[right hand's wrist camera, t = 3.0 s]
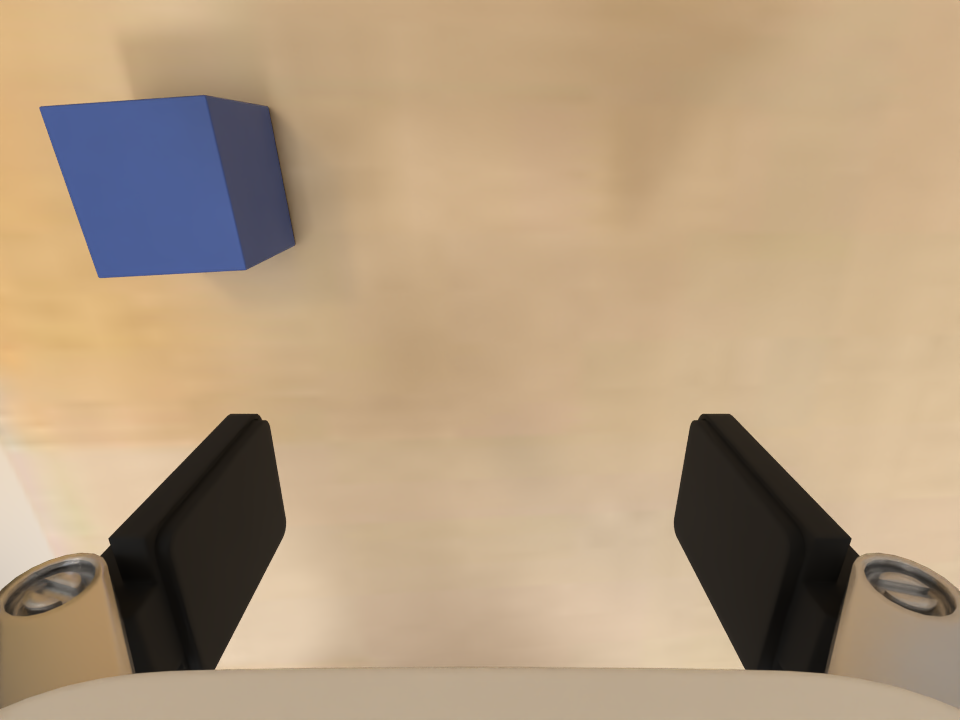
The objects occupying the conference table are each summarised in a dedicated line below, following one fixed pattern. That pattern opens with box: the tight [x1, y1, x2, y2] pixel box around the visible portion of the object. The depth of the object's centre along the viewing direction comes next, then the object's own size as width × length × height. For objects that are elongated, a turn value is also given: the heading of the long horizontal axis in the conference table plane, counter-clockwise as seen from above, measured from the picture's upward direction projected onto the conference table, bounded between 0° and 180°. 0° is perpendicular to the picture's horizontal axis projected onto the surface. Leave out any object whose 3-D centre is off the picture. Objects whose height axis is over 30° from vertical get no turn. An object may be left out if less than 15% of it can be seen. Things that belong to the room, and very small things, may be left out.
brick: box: [40, 95, 295, 278], centre depth 17 cm, size 5×5×4 cm
